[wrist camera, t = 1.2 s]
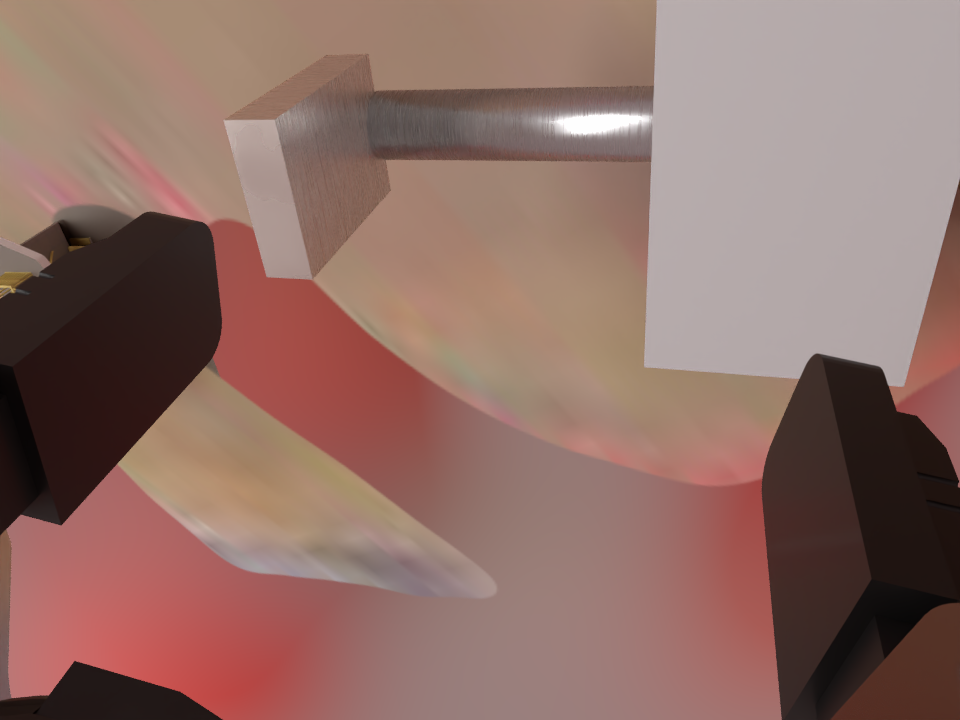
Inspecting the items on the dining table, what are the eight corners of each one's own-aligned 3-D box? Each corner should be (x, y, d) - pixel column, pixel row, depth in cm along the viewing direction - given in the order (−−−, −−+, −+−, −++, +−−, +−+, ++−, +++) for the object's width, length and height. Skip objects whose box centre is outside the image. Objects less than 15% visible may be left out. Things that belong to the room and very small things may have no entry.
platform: (124, 130, 42) (38, 177, 36) (229, 399, 52) (172, 466, 46) (-48, 139, 45) (-149, 183, 40) (81, 390, 55) (13, 452, 50)
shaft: (1207, 18, 22) (1408, 112, 15) (1138, 189, 24) (1281, 330, 18) (339, 46, 28) (223, 120, 22) (363, 177, 31) (266, 276, 25)
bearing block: (934, -165, 26) (1045, -142, 17) (857, 222, 34) (903, 386, 25) (686, -142, 28) (660, -111, 19) (668, 217, 36) (644, 367, 27)
